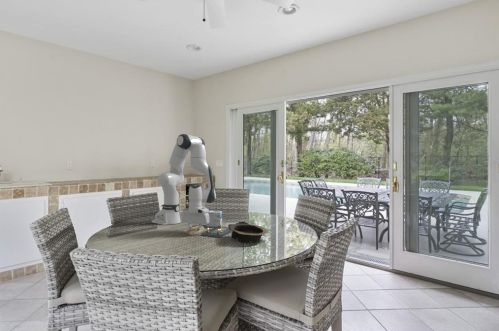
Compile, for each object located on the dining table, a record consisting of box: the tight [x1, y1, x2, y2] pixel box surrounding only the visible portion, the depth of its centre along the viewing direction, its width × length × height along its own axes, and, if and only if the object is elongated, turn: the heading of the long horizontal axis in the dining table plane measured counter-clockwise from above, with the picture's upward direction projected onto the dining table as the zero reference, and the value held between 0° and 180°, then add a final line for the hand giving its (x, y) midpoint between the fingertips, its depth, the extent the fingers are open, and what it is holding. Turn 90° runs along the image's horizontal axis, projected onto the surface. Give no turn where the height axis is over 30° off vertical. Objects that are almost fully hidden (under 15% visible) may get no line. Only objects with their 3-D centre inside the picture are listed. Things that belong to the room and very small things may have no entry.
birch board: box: [185, 225, 205, 236], centre depth 195 cm, size 5×13×3 cm, turn 156°
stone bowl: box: [227, 221, 269, 244], centre depth 178 cm, size 25×25×9 cm
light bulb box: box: [205, 210, 223, 228], centre depth 213 cm, size 11×7×11 cm, turn 84°
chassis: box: [201, 223, 233, 239], centre depth 194 cm, size 14×21×4 cm, turn 156°
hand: (195, 229), depth 195 cm, fingers open, 5 cm apart
